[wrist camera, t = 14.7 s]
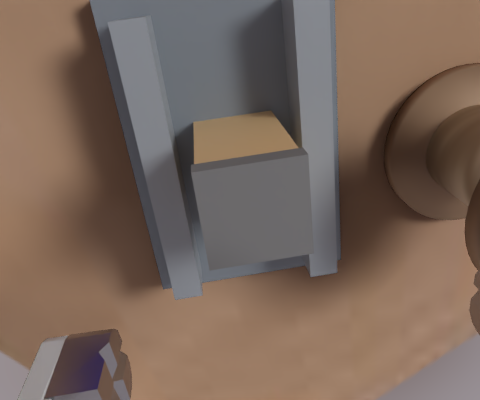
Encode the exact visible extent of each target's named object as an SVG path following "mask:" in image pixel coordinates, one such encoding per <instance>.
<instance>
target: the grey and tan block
mask: <svg viewBox="0 0 480 400" xmlns="http://www.w3.org/2000/svg"><path fill="white" fill-rule="evenodd" d="M193 127H194V164H192V165H191V175H192V181H193V186H194V191H195V197H196V202H197V207H198V212H199V218H200V223H201V228H202V233H203V239H204V244H205V249H206V254H207V260H208V265H209V270H210V271H211V270H217V269H223V268H229V267H235V266H241V265H247V264H253V263H259V262H265V261H271V260H277V259H283V258H289V257H295V256H301V255H307V254H313V253H314V246H313V228H312V210H311V192H310V174H309V157H308V153H307V152H306V151H305V149H304V148H303V147H302V148H298V146H297V145H296V144H295V142H294V141H293V139H292V138H291V137H290V135H289V134H288V133H287V131H286V130H285V129H284V127H283V126H282V125H281V123H280V122H279V120H278V119H277V118H276V116H275V115H274V114H273V112H272V111H271V110H270V111H264V112H257V113H250V114H244V115H237V116H231V117H224V118H217V119H211V120H204V121H197V122H193Z"/></svg>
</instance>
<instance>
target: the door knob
mask: <svg viewBox="0 0 480 400" xmlns="http://www.w3.org/2000/svg"><path fill="white" fill-rule="evenodd" d="M384 166H385V171H386V175H387V178H388V181H389V183H390V185H391V187H392V189H393V190H394V191H395V193H396V194H397V195H398V196H399V197H400V198H401V199H402V200H403V201H404V202H405V203H406V204H407V205H408V206H409V207H410V208H412V209H413V210H415V211H416V212H418V213H420V214H422V215H424V216H426V217H430V218H433V219H440V220H457V219H463V218H466V220H465V241H466V247H467V250H468V254H469V256H470V258H471V260H472V263H473V264H474V266H475V267H476V268H477V270H479V269H480V63H473V64H465V65H461V66H456V67H454V68H451V69H448V70H446V71H444V72H442V73H440V74H437V75H436V76H434V77H433V78H431V79H429V80H428V81H426V82H425V83H424V84H423V85H421V86H420V87H419V88H418V89H417V90H416V91H415V92H414V93H413V94H412V95H411V96H410V97H409V98H408V99H407V100H406V102H405V103H404V104H403V105H402V107H401V108H400V110H399V111H398V113H397V114H396V116H395V118H394V120H393V122H392V124H391V126H390V129H389V132H388V135H387V139H386V143H385V150H384Z"/></svg>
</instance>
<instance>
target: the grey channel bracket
mask: <svg viewBox="0 0 480 400" xmlns="http://www.w3.org/2000/svg"><path fill="white" fill-rule="evenodd" d="M90 4H91V8H92V12H93V16H94V20H95V24H96V28H97V32H98V36H99V40H100V43H101V47H102V51H103V55H104V59H105V63H106V67H107V71H108V75H109V79H110V83H111V86H112V90H113V94H114V98H115V102H116V106H117V110H118V114H119V118H120V122H121V126H122V129H123V133H124V137H125V141H126V145H127V149H128V153H129V157H130V161H131V165H132V169H133V172H134V176H135V180H136V184H137V188H138V192H139V196H140V200H141V204H142V208H143V212H144V215H145V219H146V223H147V227H148V231H149V235H150V239H151V243H152V247H153V251H154V255H155V258H156V262H157V266H158V270H159V274H160V278H161V282H162V286H163V289H168V288H172V289H173V293H174V297H175V300H178V299H184V298H189V297H195V296H201V295H203V294H202V283H204V282H210V281H216V280H222V279H228V278H234V277H240V276H246V275H252V274H258V273H264V272H270V271H276V270H282V269H288V268H294V267H300V266H306V268H307V270H308V272H309V275H310V277H314V276H320V275H326V274H332V273H337V260H341V247H340V204H339V161H338V118H337V76H336V33H335V0H90ZM270 110H271V111H272V112H273V114H274V115H275V116H276V118H277V119H278V120H279V122H280V123H281V125H282V126H283V127H284V129H285V130H286V131H287V133H288V134H289V135H290V137H291V138H292V139H293V141H294V142H295V144H296V145H297V146H298V148H302V147H303V148H304V149H305V151H306V152H307V153H308V157H309V174H310V192H311V210H312V228H313V246H314V253H313V254H307V255H301V256H295V257H289V258H283V259H277V260H271V261H265V262H259V263H253V264H247V265H241V266H235V267H229V268H223V269H217V270H211V271H210V270H209V265H208V260H207V254H206V249H205V244H204V239H203V233H202V228H201V223H200V218H199V212H198V207H197V202H196V197H195V191H194V186H193V181H192V175H191V165H192V164H194V127H193V122H197V121H204V120H211V119H217V118H224V117H231V116H237V115H244V114H250V113H257V112H264V111H270Z"/></svg>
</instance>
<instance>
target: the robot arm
mask: <svg viewBox="0 0 480 400" xmlns="http://www.w3.org/2000/svg"><path fill="white" fill-rule="evenodd" d="M474 285H475V286H476V287H477V288H478V291H477V293H476V294H475V295H474V296H473V297H472V298H471V302H470V310H469V311H470V315H471V319H472V323H473V325H474V327H475V329H476V331H477V332H478V333H479V335H480V269H479V270H478V272H477V273H476V274H475V279H474ZM121 344H122V340H121V337H120V335H119V332H118V330H116V329H108V330H101V331H93V332H86V333H79V334H72V335H69V336H61V337H53V338H47V339H46V340H45V341H43V342H42V344H41V345H40V348H39V350H38V352H37V355H36V357H35V359H34V362H33V364H32V366H31V369H30V371H29V373H28V376H27V378H26V380H25V383H24V385H23V387H22V390H21V392H20V394H19V397H18V399H17V400H130V398H131V390H132V373H131V367H130V362H129V359H128V356H127V355H126V354H124V353H123V352H121V351H120V349H121Z"/></svg>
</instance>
